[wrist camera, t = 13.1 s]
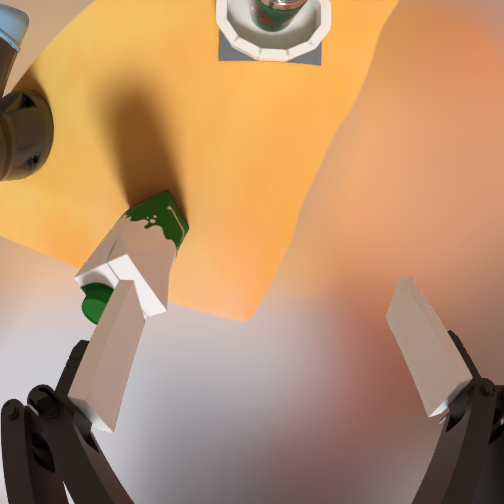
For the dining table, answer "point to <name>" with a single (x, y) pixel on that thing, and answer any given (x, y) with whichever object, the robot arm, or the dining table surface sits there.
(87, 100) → the dining table surface
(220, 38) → the mat
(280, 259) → the dining table surface
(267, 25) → the soda can
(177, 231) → the milk carton
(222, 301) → the dining table surface
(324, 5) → the bowl
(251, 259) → the dining table surface
